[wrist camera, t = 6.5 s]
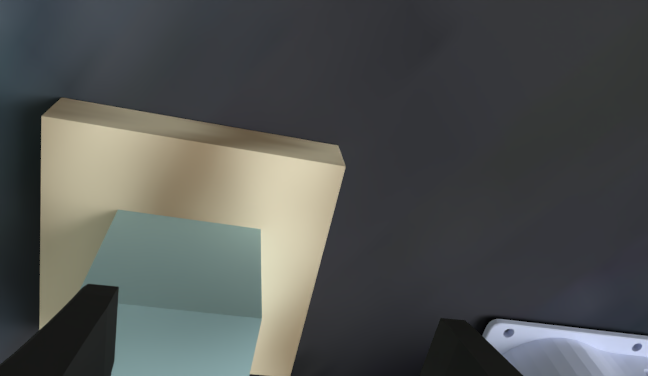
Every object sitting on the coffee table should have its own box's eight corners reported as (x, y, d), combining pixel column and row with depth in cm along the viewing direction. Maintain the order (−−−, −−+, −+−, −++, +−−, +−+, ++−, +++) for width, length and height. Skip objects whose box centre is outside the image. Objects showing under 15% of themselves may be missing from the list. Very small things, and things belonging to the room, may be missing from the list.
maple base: (338, 145, 21) (345, 166, 19) (287, 344, 25) (289, 377, 23) (61, 97, 19) (41, 115, 17) (55, 322, 23) (39, 356, 21)
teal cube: (260, 229, 20) (261, 318, 15) (239, 335, 22) (234, 441, 18) (117, 209, 19) (75, 299, 14) (109, 322, 21) (69, 431, 17)
